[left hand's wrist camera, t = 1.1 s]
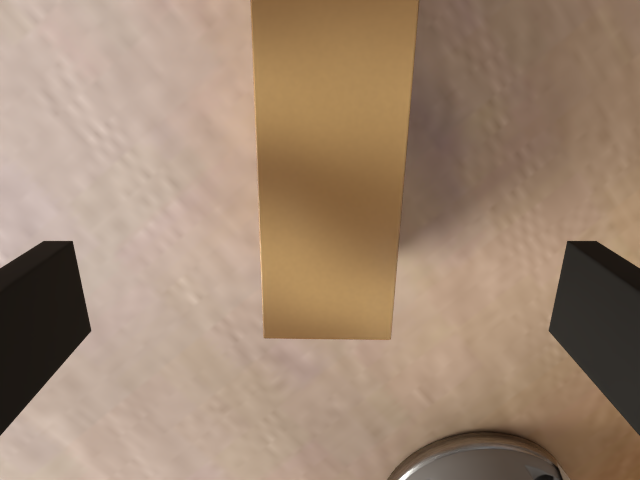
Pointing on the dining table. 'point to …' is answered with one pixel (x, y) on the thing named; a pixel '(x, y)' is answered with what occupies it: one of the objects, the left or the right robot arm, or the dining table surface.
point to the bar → (331, 161)
